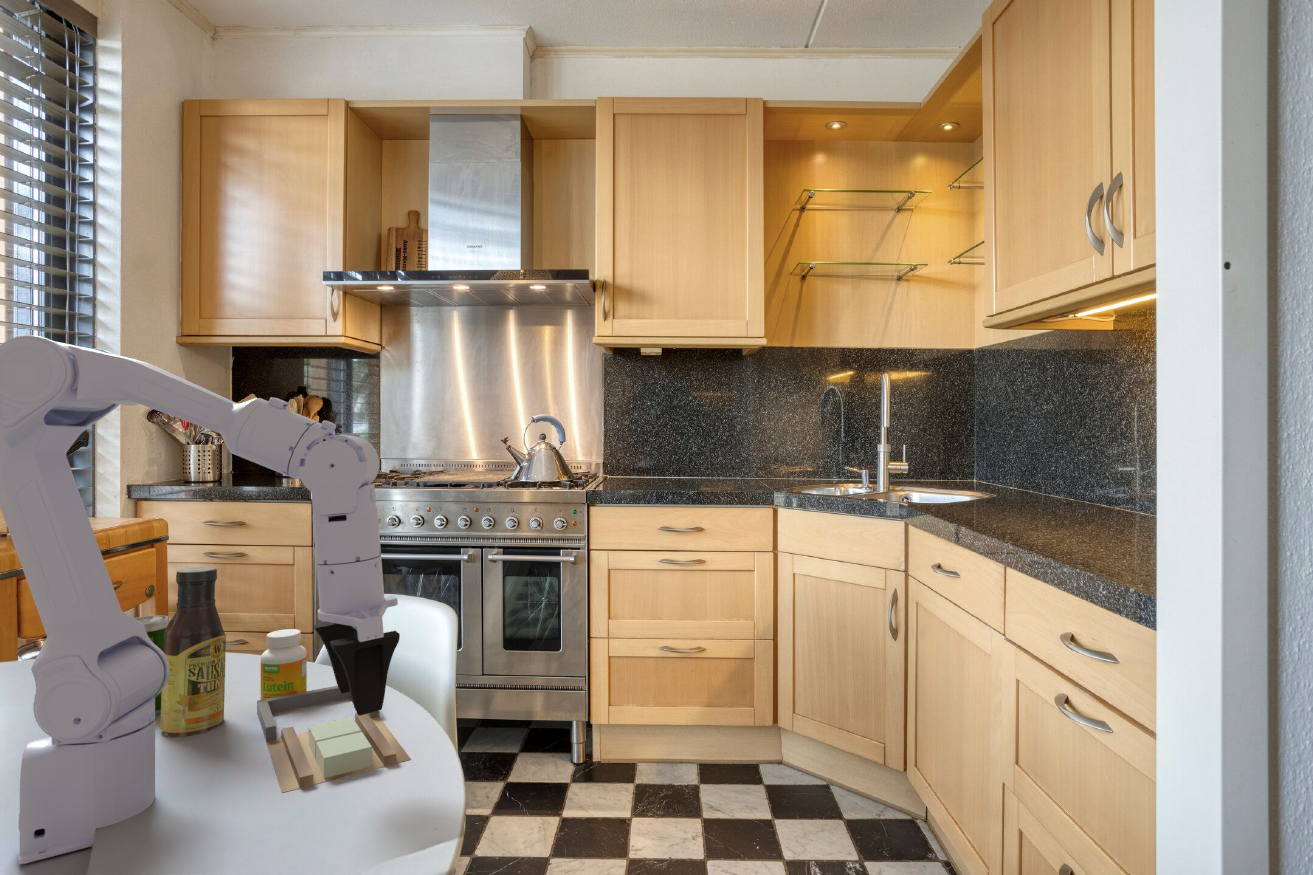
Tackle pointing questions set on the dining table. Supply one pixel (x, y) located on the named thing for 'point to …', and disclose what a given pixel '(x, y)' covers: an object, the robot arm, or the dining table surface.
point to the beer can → (155, 641)
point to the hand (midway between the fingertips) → (360, 700)
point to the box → (296, 706)
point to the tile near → (343, 754)
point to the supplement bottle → (283, 665)
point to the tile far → (331, 731)
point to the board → (301, 767)
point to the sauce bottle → (194, 658)
